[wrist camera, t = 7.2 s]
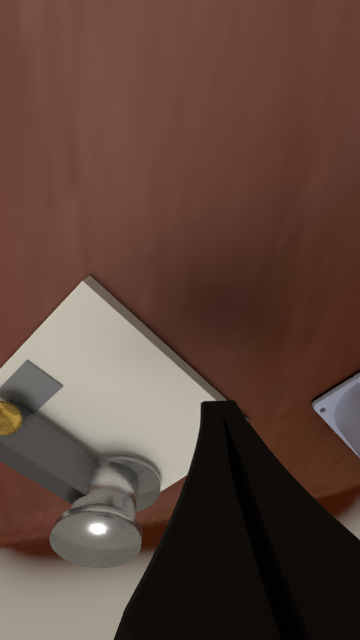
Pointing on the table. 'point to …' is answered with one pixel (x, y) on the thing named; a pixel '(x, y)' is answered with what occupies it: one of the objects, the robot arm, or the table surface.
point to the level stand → (109, 383)
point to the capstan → (81, 489)
